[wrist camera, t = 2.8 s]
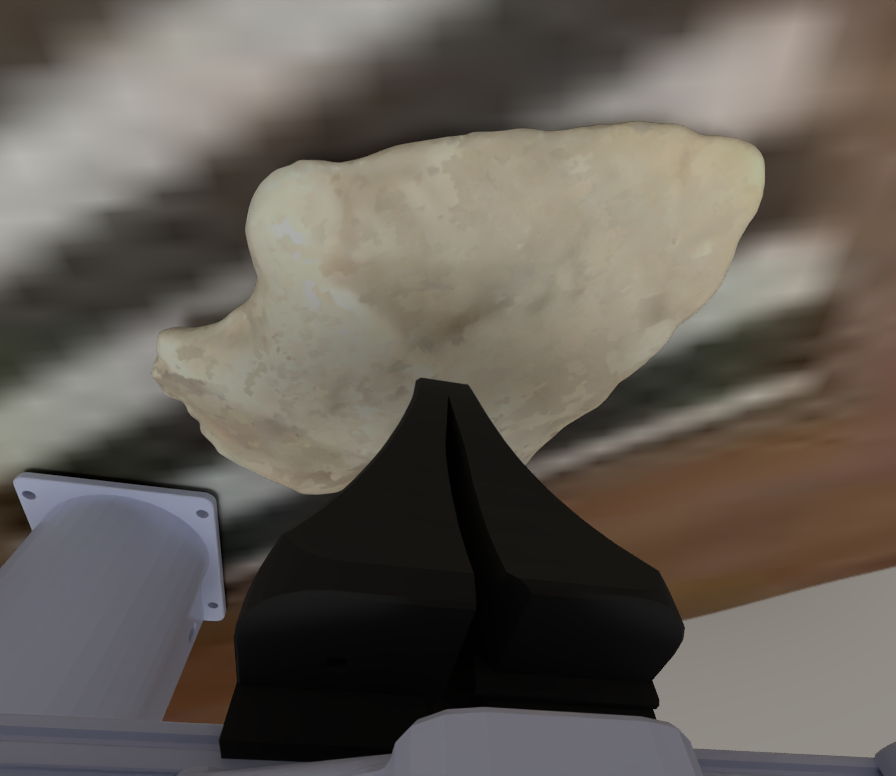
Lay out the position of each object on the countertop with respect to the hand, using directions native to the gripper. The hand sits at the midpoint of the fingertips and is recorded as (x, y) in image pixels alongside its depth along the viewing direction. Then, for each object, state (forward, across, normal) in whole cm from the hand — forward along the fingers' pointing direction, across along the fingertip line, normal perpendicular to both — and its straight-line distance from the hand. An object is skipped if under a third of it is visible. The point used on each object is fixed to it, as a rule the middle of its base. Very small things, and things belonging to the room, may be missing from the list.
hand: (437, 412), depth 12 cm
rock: (+6, 0, 0) cm, 6 cm away
